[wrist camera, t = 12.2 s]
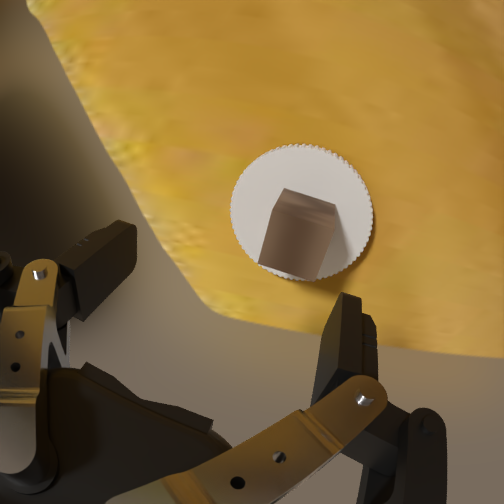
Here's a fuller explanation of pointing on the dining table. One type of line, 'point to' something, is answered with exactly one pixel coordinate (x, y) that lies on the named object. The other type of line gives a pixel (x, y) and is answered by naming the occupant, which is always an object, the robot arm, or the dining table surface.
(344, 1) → the dining table surface
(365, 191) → the plastic lid
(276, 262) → the walnut block
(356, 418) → the robot arm
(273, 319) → the dining table surface
